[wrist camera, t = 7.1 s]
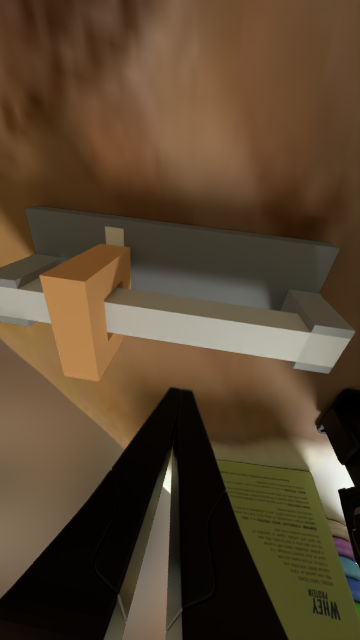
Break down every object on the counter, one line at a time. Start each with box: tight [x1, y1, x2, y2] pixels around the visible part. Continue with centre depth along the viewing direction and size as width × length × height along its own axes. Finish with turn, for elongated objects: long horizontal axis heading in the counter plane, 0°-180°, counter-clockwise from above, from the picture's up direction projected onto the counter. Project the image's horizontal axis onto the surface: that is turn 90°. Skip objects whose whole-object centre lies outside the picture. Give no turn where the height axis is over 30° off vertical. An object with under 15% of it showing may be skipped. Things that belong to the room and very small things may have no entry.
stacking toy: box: [327, 519, 360, 617], centre depth 29 cm, size 8×8×19 cm
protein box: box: [216, 460, 360, 640], centre depth 26 cm, size 10×15×16 cm
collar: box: [39, 244, 131, 382], centre depth 13 cm, size 2×6×6 cm, turn 174°
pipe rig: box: [0, 206, 356, 374], centre depth 15 cm, size 20×9×6 cm, turn 85°
